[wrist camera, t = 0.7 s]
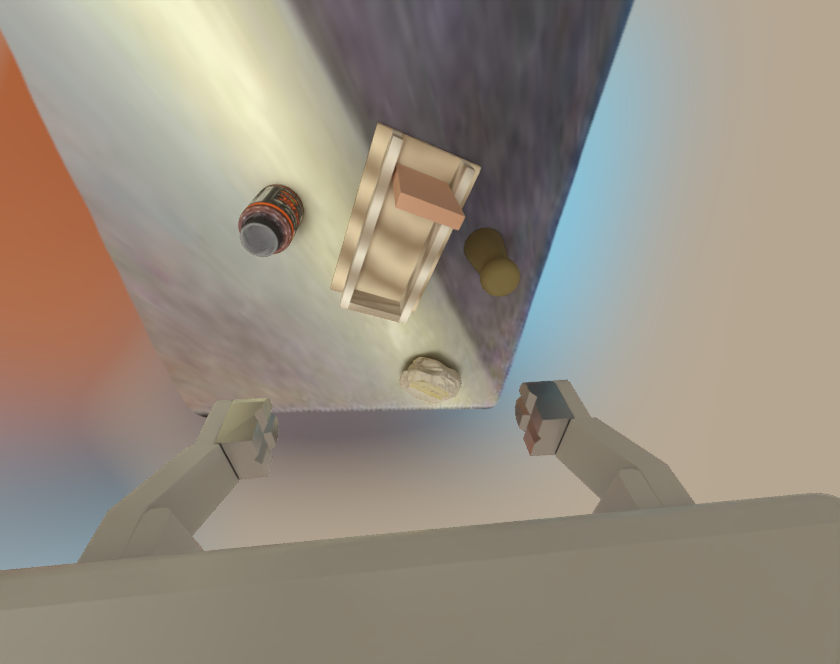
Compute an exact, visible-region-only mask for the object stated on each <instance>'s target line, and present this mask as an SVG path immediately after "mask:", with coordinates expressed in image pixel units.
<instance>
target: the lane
mask: <svg viewBox="0 0 840 664" xmlns="http://www.w3.org/2000/svg"><path fill="white" fill-rule="evenodd" d="M396 162H397V163H399V164H402V165H404V166H407V167H409V168H411V169H414V170H416V171H419V172H421V173H424V174H426V175H429V176H431V177H434V178H436V179H439V180H441V181H444V182H446V183H448V185H449V187H450V188H451V190H452V192H453V194H454V196H455V198H456V200H457V202H458V204H459V206H460V207H461V209H463V206H464V204H465V202H466V200H467V198H468V196H469V194H470V191H471V189H472V187H473V185H474V183H475V181H476V178H477V176H478V174H479V172H480V170H481V167H480V166H478V165H476V164H474V163H471V162H469V161H467V160H464V159H462V158H460V157H457V156H455V155H453V154H451V153H448V152H446V151H444V150H441V149H439V148H437V147H434V146H432V145H430V144H427V143H425V142H423V141H420V140H418V139H416V138H414V137H411V136H409V135H407V134H404V133H402V132H400V131H397V130H395V129H393V128H390V127H388V126H386V125H383V124H381V123H379V122H378V123H377V126H376V130H375V133H374V137H373V140H372V144H371V147H370V151H369V154H368V158H367V161H366V165H365V168H364V172H363V175H362V179H361V182H360V186H359V189H358V193H357V196H356V200H355V203H354V207H353V210H352V214H351V217H350V221H349V224H348V228H347V231H346V235H345V238H344V242H343V245H342V249H341V252H340V256H339V259H338V263H337V266H336V270H335V273H334V277H333V280H332V284H331V288H330V289H331V290H335V291H338V292H342V294H341V301H340V307H342V308H346V309H350V310H354V311H358V312H361V313H365V314H369V315H373V316H377V317H380V318H384V319H388V320H392V321H396V322H400V323H403V324H406V322H407V320H408V318H409V316H410V313H411V312H415V310H416V307H417V305H418V303H419V301H420V299H421V297H422V294H423V292H424V290H425V288H426V286H427V284H428V282H429V279H430V277H431V275H432V273H433V271H434V269H435V267H436V264H437V262H438V260H439V258H440V256H441V254H442V252H443V249H444V247H445V245H446V243H447V241H448V239H449V236H450V234H451V232H452V230H453V228H451V227H448V226H445V225H442V224H440V223H437V222H434V221H431V220H428V219H426V218H423V217H420V216H417V215H415V214H412V213H409V212H406V211H404V210H401V209H398V208H395V199H394V191H393V182H392V173H393V170H394V167H395V164H396Z"/></svg>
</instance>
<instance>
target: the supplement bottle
mask: <svg viewBox="0 0 840 664" xmlns="http://www.w3.org/2000/svg"><path fill="white" fill-rule="evenodd" d="M302 217H303V205H302V203H301V200H300V199H299V197H298V196H297V194H295V193H294V192H293V191H292V190H291V189H289V188H287V187H285V186H282V185H270V186H267V187H265V188H264V189H263V190H261V191H260V192H259V194H258V195H257V196H256V197H255V198H254V200H253V201H252V202H251V203H250V204H249V205H248V206H247V208H246V209H245V210H244V211H243V212H242V214H241V216H240V218H239V222H238V227H239V232H240V240H241V243H242V245H243V246H244V248H245V249H246V250H247V251H248V252H250V253H251V254H253V255H256V256H259V257H267V256H270V255H272V254H276V253H280V252H282V251H284V250H285V249H286V248H287V247H288V246H289V244H290V243H291V241H292V239H293V237H294V235H295V233H296V231H297V229H298V226H299V224H300V222H301V220H302Z"/></svg>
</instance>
